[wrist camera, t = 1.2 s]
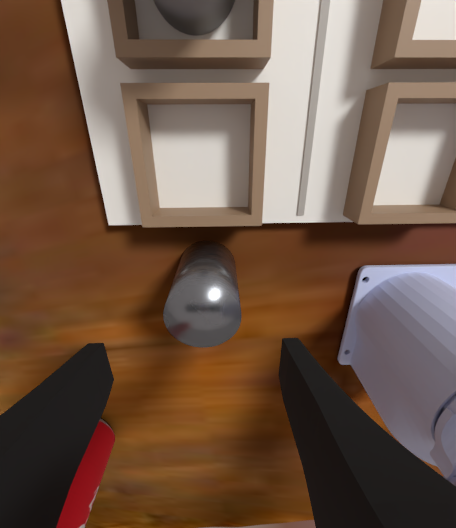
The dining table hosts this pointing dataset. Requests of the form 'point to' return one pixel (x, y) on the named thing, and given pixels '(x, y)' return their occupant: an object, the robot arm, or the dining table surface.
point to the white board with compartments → (269, 109)
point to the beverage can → (87, 478)
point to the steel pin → (204, 296)
